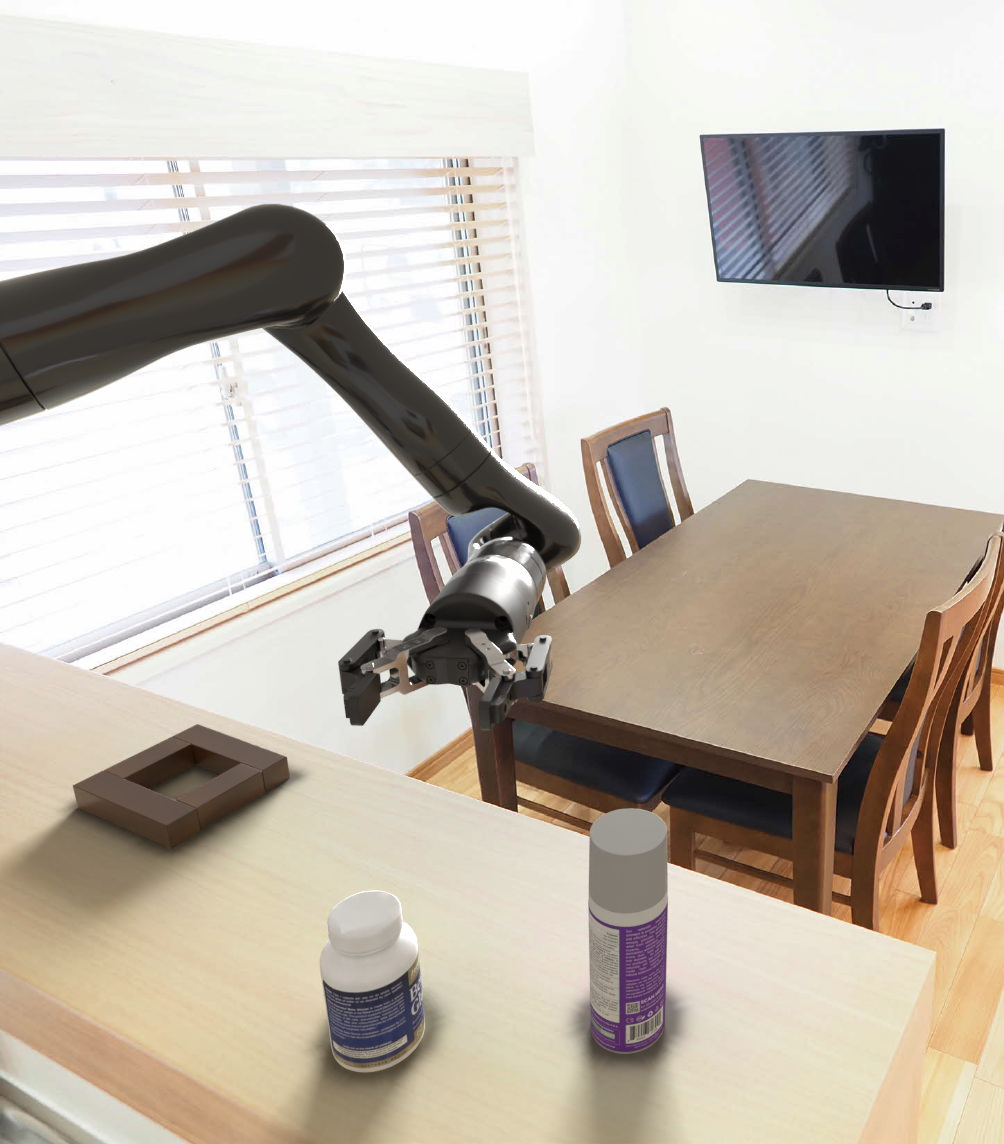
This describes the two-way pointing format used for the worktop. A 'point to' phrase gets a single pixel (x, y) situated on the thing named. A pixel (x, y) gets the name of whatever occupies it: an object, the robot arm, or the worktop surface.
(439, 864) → the worktop surface
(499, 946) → the worktop surface
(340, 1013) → the pill bottle
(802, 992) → the worktop surface
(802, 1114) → the worktop surface
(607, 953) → the container
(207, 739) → the frame
